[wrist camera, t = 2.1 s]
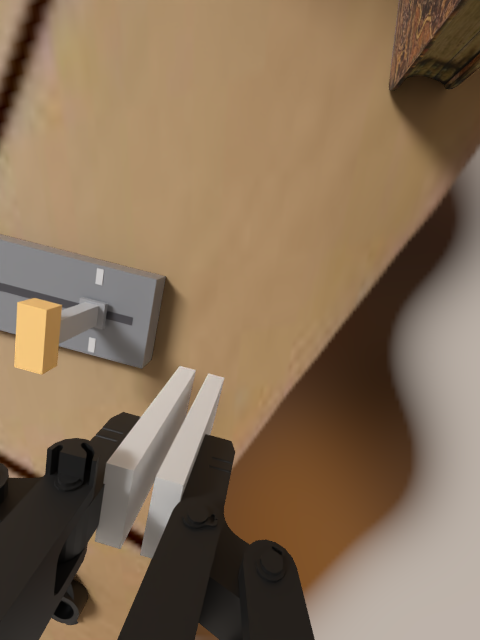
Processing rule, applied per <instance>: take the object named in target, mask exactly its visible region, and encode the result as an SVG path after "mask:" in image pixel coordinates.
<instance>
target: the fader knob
mask: <svg viewBox="0 0 480 640" xmlns="http://www.w3.org/2000/svg"><path fill="white" fill-rule="evenodd" d="M107 306H108V303H104V302H100V301H96V300H92V299H89V298H85V297H81V298H80V301H79V304H78V305H75V306H73V307H70V308H67V309H64V310H62V305H60V304H56V303H52V302H49V301H45V300H41V299H37V298H32V299H28V300H24V301H20V302H17V321H16V342H15V364H14V367H16V368H20V369H24V370H27V371H31V372H35V373H38V374H44V373H46V372H47V371H49V370H51V369H52V368H54V367H56V366H57V359H58V348H59V344H60V343H62V342H64V341H66V340H68V339H70V338H72V337H74V336H76V335H78V334H80V333H82V332H84V331H86V330H89V329H91V328H93V327H95V328H98V329H104V328H105V322H106V314H107Z"/></svg>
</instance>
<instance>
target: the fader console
mask: <svg viewBox="0 0 480 640" xmlns="http://www.w3.org/2000/svg"><path fill="white" fill-rule="evenodd" d="M165 278H166V276H162V275H158V274H154V273H150V272H146V271H143V270H139V269H135V268H131V267H127V266H123V265H119V264H115V263H111V262H107V261H103V260H99V259H96V258H92V257H88V256H84V255H80V254H76V253H72V252H68V251H64V250H60V249H56V248H53V247H49V246H45V245H41V244H37V243H33V242H29V241H25V240H21V239H17V238H13V237H9V236H6V235H2V234H0V330H1V331H5V332H9V333H12V334H16V321H17V302H20V301H24V300H28V299H32V298H37V299H41V300H45V301H49V302H52V303H56V304H60V305H62V310H64V309H67V308H70V307H73V306H75V305H78V304H79V301H80V298H81V297H85V298H89V299H92V300H96V301H100V302H104V303H108V306H107V314H106V322H105V328H104V329H98V328H95V327H93V328H91V329H89V330H86V331H84V332H82V333H80V334H78V335H76V336H74V337H72V338H70V339H68V340H66V341H64V342H62V343H60V344H59V346H60V347H64V348H68V349H71V350H75V351H79V352H82V353H86V354H90V355H93V356H97V357H101V358H105V359H108V360H112V361H116V362H119V363H123V364H127V365H130V366H134V367H138V368H141V369H142V368H143V367H144V366H145V365H146V364H147V363H148V362H149V361H150V360H151V359H152V354H153V348H154V342H155V336H156V330H157V325H158V319H159V313H160V307H161V301H162V295H163V290H164V284H165Z"/></svg>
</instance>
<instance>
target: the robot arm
mask: <svg viewBox="0 0 480 640" xmlns="http://www.w3.org/2000/svg"><path fill="white" fill-rule="evenodd" d="M195 371H196V370H193V369H190V368H186V367H182V366H179V367H178V369H177V370H176V371H175V373H174V374H173V375H172V377H171V378H170V379H169V381H168V382H167V383H166V385H165V386H164V387H163V389H162V390H161V391H160V393H159V394H158V395H157V397H156V398H155V399H154V400H153V402H152V403H151V404H150V406H149V407H148V408H147V410H146V411H145V412H144V414H143V415H142V416H141V417H139V416H135V415H132V414H128V413H125V412H122V413H120V414H118V415H116V416H114V417H112V418H111V419H110V420H109V421H108V422H107V423H106V424H105V425H104V426H103V428H102V429H101V430H100V431H99V432H98V433H97V434H96V436H94V437H93V438H92V439H91V441H89V440H86V439H79V438H73V439H65V440H62V441H60V442H57V443H55V444H53V445H52V446H50V447H49V448H48V449H47V461H46V473H45V475H44V476H43V477H40V478H9V475H8V469H7V468H6V467H5V466H4V465H3V464H1V463H0V640H39V639H40V637H41V635H42V633H43V631H44V630H45V628H46V626H47V624H48V623H49V621H50V619H51V617H52V615H53V614H54V612H55V610H56V608H57V607H58V605H59V603H60V601H61V599H62V598H63V596H64V594H65V592H66V591H67V589H68V587H69V585H70V583H71V582H72V580H73V578H74V576H75V575H76V573H77V571H78V569H79V567H80V566H81V564H82V562H83V560H84V557H85V554H86V552H87V544H88V541H89V540H90V538H91V537H92V535H93V533H94V532H95V530H96V528H97V531H96V538H95V542H99V543H102V544H105V545H109V546H112V547H115V548H119V549H121V547H122V545H123V543H124V541H125V539H126V537H127V535H128V533H129V531H130V529H131V527H132V525H133V523H134V521H135V519H136V517H137V515H138V513H139V511H140V509H141V507H142V505H143V503H144V501H145V499H146V497H147V495H148V493H149V491H150V489H151V487H152V485H153V483H154V487H153V492H152V498H151V503H150V508H149V513H148V518H147V523H146V528H145V533H144V538H143V543H142V548H141V553H140V555H142V556H145V557H149V558H152V560H151V562H150V565H149V567H148V569H147V572H146V574H145V576H144V579H143V581H142V583H141V586H140V588H139V590H138V593H137V595H136V597H135V600H134V602H133V604H132V607H131V609H130V611H129V614H128V616H127V618H126V621H125V623H124V625H123V628H122V630H121V632H120V635H119V637H118V639H117V640H195V635H196V631H197V627H198V623H200V624H201V625H202V626H203V627H205V628H206V629H207V630H208V631H210V632H211V633H212V634H213V635H215V636H216V637H217V638H218V639H219V640H315V639H314V635H313V631H312V628H311V624H310V619H309V615H308V611H307V608H306V604H305V599H304V595H303V591H302V587H301V583H300V579H299V575H298V571H297V567H296V565H295V563H294V560H293V558H292V557H291V555H290V554H289V553H288V552H287V551H286V549H285V548H283V547H282V546H280V545H279V544H277V543H276V542H272V541H268V540H258V541H255V542H253V543H252V544H250V545H249V544H248V543H246V542H245V541H243V540H242V539H240V538H239V537H238V536H237V535H235V534H234V533H233V532H232V531H231V529H230V528H229V527H228V525H227V523H226V521H225V518H224V504H225V499H226V495H227V489H228V484H229V479H230V475H231V470H232V464H233V460H234V455H235V450H234V447H233V444H232V442H231V441H229V440H225V439H222V438H218V437H214V436H211V435H210V433H211V430H212V427H213V423H214V419H215V414H216V410H217V406H218V402H219V398H220V394H221V390H222V386H223V381H224V378H223V377H219V376H216V375H212V374H208V375H207V377H206V379H205V381H204V383H203V385H202V387H201V389H200V391H199V393H198V395H197V397H196V399H195V401H194V402H193V404H192V406H191V408H190V410H189V412H188V414H187V416H186V413H187V408H188V404H189V399H190V395H191V390H192V385H193V381H194V376H195ZM154 481H155V482H154Z"/></svg>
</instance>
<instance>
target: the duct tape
mask: <svg viewBox="0 0 480 640" xmlns="http://www.w3.org/2000/svg"><path fill="white" fill-rule="evenodd" d="M87 600H88V592H87V590H86V588H85V587H84V586H83V585H82V584H81V583H79V582H77V581H75V580H72V582H71V583H70V585H69V587H68V589H67V591H66V592H65V594H64V596H63V598H62V599H61V601H60V603H59V605H58V607H57V608H56V610H55V612H54V614H53V615H52V617H51V618H53V619H54V620H56V621H58V622H61V623H65V624H67V625H74V624H77V623H78V621H77V619H78V617H79V615H80V613H81V611H82V609H83V608H84V606H85V604H86V602H87Z"/></svg>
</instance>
